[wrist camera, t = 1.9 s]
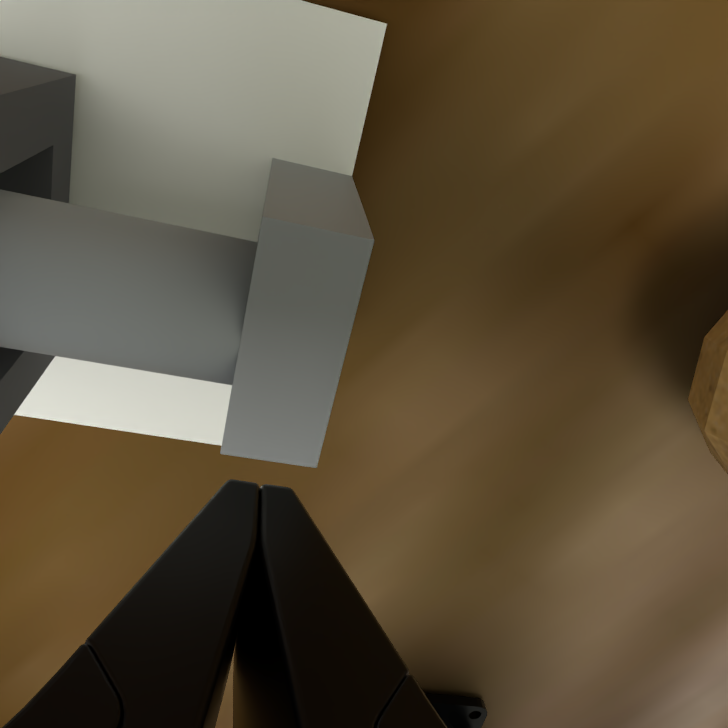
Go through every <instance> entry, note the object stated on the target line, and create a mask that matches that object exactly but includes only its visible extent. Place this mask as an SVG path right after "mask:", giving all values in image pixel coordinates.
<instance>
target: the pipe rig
mask: <svg viewBox="0 0 728 728" xmlns="http://www.w3.org/2000/svg"><path fill="white" fill-rule="evenodd" d="M386 26H387V24H386V23H382V22H379V21H375V20H371V19H368V18H364V17H360V16H357V15H353V14H349V13H346V12H342V11H338V10H335V9H331V8H327V7H324V6H320V5H316V4H313V3H309V2H305V1H302V0H0V57H4V58H8V59H13V60H17V61H21V62H25V63H29V64H34V65H38V66H42V67H46V68H50V69H55V70H59V71H63V72H67V73H71V74H76V85H75V103H74V121H73V139H72V157H71V175H70V193H69V203H64V202H59V201H54V200H50V199H45V198H40V197H35V196H30V195H25V194H20V193H15V192H11V191H6V190H1V189H0V347H4V348H10V349H16V350H22V351H28V352H34V353H40V354H46V355H52V356H55V357H54V359H53V360H52V362H51V363H50V364H49V366H48V367H47V369H46V370H45V372H44V373H43V374H42V376H41V377H40V379H39V380H38V381H37V383H36V384H35V386H34V387H33V388H32V390H31V391H30V393H29V394H28V396H27V397H26V398H25V400H24V401H23V403H22V404H21V405H20V407H19V408H18V410H17V411H16V413H15V414H14V415H20V416H27V417H33V418H40V419H47V420H53V421H60V422H67V423H74V424H80V425H87V426H94V427H100V428H107V429H114V430H120V431H127V432H134V433H141V434H147V435H154V436H161V437H167V438H174V439H181V440H187V441H194V442H201V443H208V444H214V445H221V452H220V454H225V455H231V456H238V457H245V458H252V459H259V460H265V461H272V462H279V463H286V464H293V465H299V466H306V467H313V468H317V464H318V460H319V456H320V453H321V449H322V445H323V441H324V437H325V433H326V429H327V425H328V421H329V417H330V413H331V409H332V405H333V401H334V397H335V393H336V389H337V386H338V382H339V378H340V374H341V370H342V366H343V362H344V358H345V354H346V350H347V346H348V342H349V338H350V334H351V330H352V326H353V323H354V319H355V315H356V311H357V307H358V303H359V299H360V295H361V291H362V287H363V283H364V279H365V275H366V271H367V267H368V263H369V259H370V256H371V252H372V248H373V244H374V238H373V235H372V232H371V229H370V226H369V223H368V220H367V217H366V215H365V212H364V209H363V206H362V203H361V200H360V197H359V195H358V192H357V189H356V186H355V183H354V180H353V177H352V174H353V170H354V165H355V161H356V157H357V152H358V148H359V144H360V139H361V135H362V130H363V126H364V122H365V117H366V113H367V109H368V104H369V100H370V96H371V91H372V87H373V83H374V78H375V74H376V70H377V65H378V61H379V57H380V52H381V48H382V43H383V39H384V35H385V30H386Z"/></svg>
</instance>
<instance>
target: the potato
mask: <svg viewBox="0 0 728 728" xmlns="http://www.w3.org/2000/svg"><path fill="white" fill-rule="evenodd" d="M688 402H689V404H690V406H691V409H692V411H693V413H694V416H695V418H696V420H697V423H698V425H699V427H700V430H701V432H702V434H703V437H704V439H705V441H706V444H707V446H708V448H709V451H710V453H711V454H712V455H713V456H714V458H715V459H716V460H717V461H718V463H719V464H720V465H721V466H722V468H723V469H724V470H725V471H726V473H727V474H728V310H727V311H726V312H725V314H724V315H723V316H722V317H721V318H720V319H719V321H718V322H717V323H716V324H715V325H714V326H713V328H712V329H711V330H710V331H709V332H708V333H707V335H706V336H705V337H704V341H703V345H702V348H701V352H700V356H699V360H698V363H697V367H696V371H695V375H694V378H693V382H692V386H691V390H690V394H689V397H688Z"/></svg>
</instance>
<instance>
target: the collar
mask: <svg viewBox="0 0 728 728" xmlns="http://www.w3.org/2000/svg"><path fill="white" fill-rule="evenodd" d="M75 85H76V74H71V73H67V72H63V71H59V70H55V69H50V68H46V67H42V66H38V65H34V64H29V63H25V62H21V61H17V60H13V59H8V58H4V57H0V189H1V190H6V191H11V192H15V193H20V194H25V195H30V196H35V197H40V198H45V199H50V200H54V201H59V202H64V203H69V193H70V175H71V157H72V139H73V121H74V103H75ZM54 357H55V356H52V355H46V354H40V353H34V352H28V351H22V350H16V349H10V348H4V347H0V434H1V432H2V431H3V430H4V428H5V427H6V425H7V424H8V422H9V421H10V420H11V418H12V417H13V415H14V414H15V413H16V411H17V410H18V408H19V407H20V405H21V404H22V403H23V401H24V400H25V398H26V397H27V396H28V394H29V393H30V391H31V390H32V388H33V387H34V386H35V384H36V383H37V381H38V380H39V379H40V377H41V376H42V374H43V373H44V372H45V370H46V369H47V367H48V366H49V364H50V363H51V362H52V360H53V359H54Z"/></svg>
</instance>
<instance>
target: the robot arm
mask: <svg viewBox="0 0 728 728" xmlns="http://www.w3.org/2000/svg"><path fill="white" fill-rule="evenodd" d="M234 648H235V651H234ZM233 652H234V670H233V728H481V727H482V725H483V723H484V721H485V718H486V716H487V710H486V707H485V703H484V701H483V700H481V699H479V698H471V697H460V696H449V695H437V694H426V693H424V692H423V691H422V689H421V688H420V686H419V684H418V683H417V681H416V680H415V678H414V677H413V676H412V675H408V674H409V670H408V668H407V666H406V665H405V663H404V662H403V660H402V658H401V657H400V655H399V654H398V652H397V651H396V649H395V648H394V646H393V644H392V643H391V641H390V640H389V638H388V637H387V635H386V634H385V632H384V630H383V629H382V627H381V626H380V624H379V623H378V621H377V620H376V618H375V616H374V615H373V613H372V612H371V610H370V609H369V607H368V606H367V604H366V602H365V601H364V599H363V598H362V596H361V595H360V593H359V592H358V590H357V588H356V587H355V585H354V584H353V582H352V581H351V579H350V578H349V576H348V574H347V573H346V571H345V570H344V568H343V567H342V565H341V564H340V562H339V560H338V559H337V557H336V556H335V554H334V553H333V551H332V550H331V548H330V546H329V545H328V543H327V542H326V540H325V539H324V537H323V536H322V534H321V532H320V531H319V529H318V528H317V526H316V525H315V523H314V522H313V520H312V518H311V517H310V515H309V514H308V512H307V511H306V509H305V507H304V506H303V504H302V503H301V501H300V500H299V498H298V497H297V495H296V493H295V492H294V491H293V490H292V489H291V488H288V487H281V486H274V485H267V484H266V485H262V486H261V487H260V488H259V486H258V484H256V483H253V482H246V481H239V480H228V481H227V482H226V483H225V484H224V485H223V486H222V487H221V488H220V489H219V490H218V491H217V493H216V494H215V495H214V496H213V497H212V498H211V499H210V501H209V502H208V503H207V504H206V505H205V506H204V507H203V508H202V510H201V511H200V512H199V513H198V514H197V515H196V516H195V517H194V519H193V520H192V521H191V522H190V523H189V524H188V525H187V526H186V528H185V529H184V530H183V531H182V532H181V533H180V534H179V536H178V537H177V538H176V539H175V540H174V541H173V542H172V543H171V545H170V546H169V547H168V548H167V549H166V550H165V551H164V552H163V554H162V555H161V556H160V557H159V558H158V559H157V560H156V562H155V563H154V564H153V565H152V566H151V567H150V568H149V569H148V571H147V572H146V573H145V574H144V575H143V576H142V577H141V578H140V580H139V581H138V582H137V583H136V584H135V585H134V586H133V587H132V589H131V590H130V591H129V592H128V593H127V594H126V595H125V597H124V598H123V599H122V600H121V601H120V602H119V603H118V604H117V606H116V607H115V608H114V609H113V610H112V611H111V612H110V613H109V615H108V616H107V617H106V618H105V619H104V620H103V621H102V623H101V624H100V625H99V626H98V627H97V628H96V629H95V630H94V632H93V633H92V634H91V635H90V636H89V637H88V638H87V640H86V642H85V644H83V645H81V646H80V647H79V648H78V649H77V650H76V651H75V653H74V654H73V655H72V656H71V657H70V658H69V659H68V660H67V662H66V663H65V664H64V665H63V666H62V667H61V668H60V669H59V671H58V672H57V673H56V674H55V675H54V676H53V677H52V678H51V679H50V680H49V681H48V682H47V683H46V684H45V685H44V686H43V687H42V689H41V690H40V691H39V692H38V693H37V694H36V695H35V696H34V697H33V698H32V699H31V700H30V701H29V702H28V703H27V704H26V705H25V706H24V708H22V709H21V710H20V711H19V712H18V713H17V714H16V715H15V716H14V717H13V718H12V719H11V720H10V721H9V722H8V723H7V724H5V725H4V726H3V727H2V728H215V725H216V721H217V717H218V713H219V709H220V706H221V702H222V698H223V694H224V690H225V686H226V682H227V679H228V674H229V670H230V665H231V661H232V657H233Z"/></svg>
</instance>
